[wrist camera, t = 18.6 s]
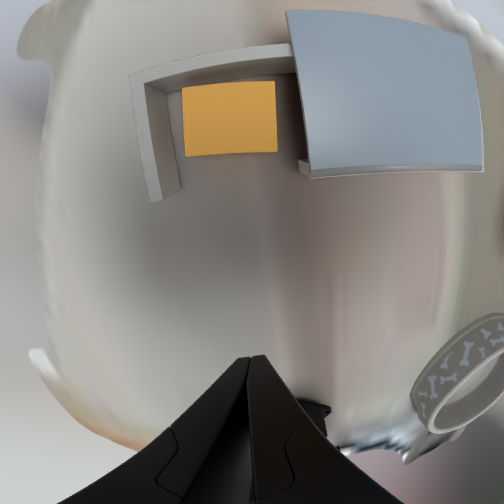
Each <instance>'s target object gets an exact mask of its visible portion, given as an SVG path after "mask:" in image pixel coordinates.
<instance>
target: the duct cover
mask: <svg viewBox="0 0 504 504" xmlns="http://www.w3.org/2000/svg"><path fill="white" fill-rule="evenodd" d="M285 17H286V21H287V26H288V31H289V36H290V41H291V46H292V51H293V57H294V62H295V68H296V74H297V80H298V86H299V92H300V99H301V106H302V112H303V120H304V127H305V135H306V143H307V152H308V161H309V172H310V177H311V178H316V177H327V176H339V175H352V174H367V173H385V172H410V171H482V169H483V167H482V136H481V121H480V111H479V102H478V94H477V88H476V81H475V76H474V70H473V65H472V61H471V56H470V52H469V48H468V44H467V40H466V37H463V36H460V35H457V34H454V33H451V32H448V31H445V30H442V29H438V28H435V27H431V26H427V25H423V24H419V23H415V22H411V21H406V20H402V19H396V18H391V17H385V16H379V15H372V14H364V13H355V12H344V11H326V10H286V12H285Z"/></svg>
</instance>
